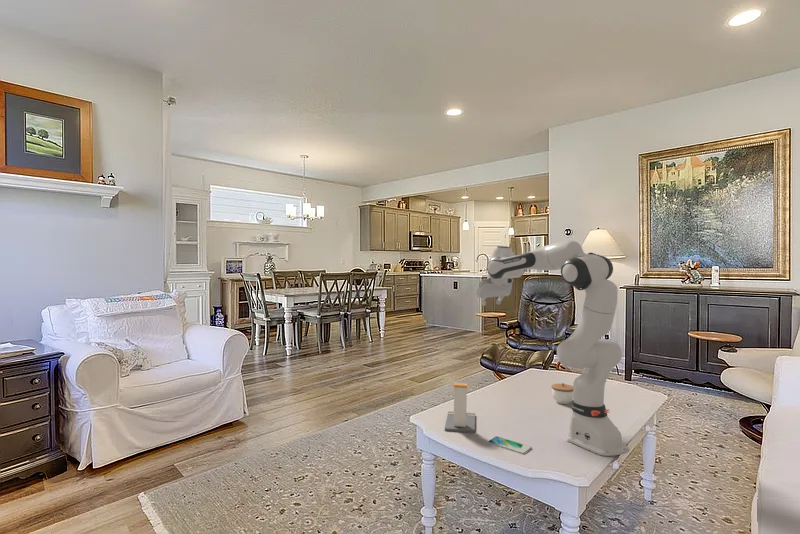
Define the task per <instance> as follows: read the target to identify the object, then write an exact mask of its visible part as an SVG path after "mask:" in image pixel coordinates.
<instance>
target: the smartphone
mask: <svg viewBox="0 0 800 534" xmlns="http://www.w3.org/2000/svg"><path fill="white" fill-rule="evenodd" d="M487 443H488V444H489V445H492V446H494V447H495V446H496V447H499V448H502V449H505V450H507V451H511V452H515V453H517V454H520V455H526V454H527V453H528V452H530V451H531V450H532V449H533V447H532V446H530V445H527V444H524V443H523V444H522V443H520V442H517V441H514V440H510V439H507V438H504V437H501V436H498V435H497V436H496V435H495V437H493V438H491V439H489V440H488V441H487Z"/></svg>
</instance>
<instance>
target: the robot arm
mask: <svg viewBox="0 0 800 534" xmlns="http://www.w3.org/2000/svg"><path fill="white" fill-rule="evenodd" d="M486 265H487V266H486V271H487V278H482V279H480V280H479V282H478V284H477V288H476V292H475V295H476V297H478V298H480V299H481V306H483V307H485V306H487V303H488V302H487V301H486V300H487V298H497V297H498V298H497V299H496V300H495V304H496V305H501V303H502V301H503V299H504V298H505V297H509V296H510V295H511V292H512V288H513V282H514V279H517V278H521V277H522V276H523V275H524V273H525V271H526V270H533V271H534V270H536V271H557V270H560V274H561V278H562V280H563V281H564V282H565V284H568V285H569V286H571V287H574V288H575V289H576V290H578V291H584V292H585V298H584V302H583V305H582V306H583V307H582V312H581V316H580V317H579V318H580V319H579V322H578V324H577V326H576V328H575V329H574V331H573V332H572V333H571V334H570V335H569V336H568V337H567V338H566V339H564V340H563V341H561V342H560V343H559V344H558V346H557V349H556V357H557V359H558V362H559V363H560V364H561V365H562V366H563V367H566V368H573V369H584V370H583V371H582V373H581V374H580V375H578V376H577V377H576V378H575V379H574V381H573V383H572V384H573V385H572V386H573V400H572V401H571V404H570V405H571V411H572V412H571V413H572V414H571V418H570V424H569V431H568V433H567V437H566V441H567V442H569V443H571V444H573V445H576V446H578V447H580V448H583V449H585V450H587V451H589V450H590V452H592V453H594V454H596V453H597V454H596V455H599V456H604V457H605V456H606V457H613V456H620V455H625V454H627V453H629V452H630V447H628V446H627V445H626V444H625V443H623V437H622V433H621V431H620V430H619V428H618V427H617V426H616V425H615V424H614V422H612V420H611V419H610V417H608V413H610V409H607V408H606V405H605V403H604V402H605V401H604V400H605V386H606V383H607V379H608V378H609V375H610V373H611V371H613V369H614V368H615V367H616V366H617V365H618V364H619V363H620V362H621V361H622V357H623V350H622V348H621V346H620V344H618V342H616V341H615V340H612V339H606V338H602V337H604V336H605V335H607V334H609V332H610V331H611V330H612V327H613V322H614V319H615V314H616V309H617V304H618V294H619V293H618V291H619V290H618V287H617V285H616V283H614V282H613V281H612V280H610V279H609V278H610V277H611V276H613V275H612V274H613V272H614V265H613V263H612V261H611V260H610V259H609V258H608V257H606V256H604V255H600V254H596V253H594V252H590V251H589V252H588V253H585V251H584V249H583V247H582V245H581V244H580V243H579V242H577V241H575V240H562V241H557V242H552V243H550V244H547V245H544V246H541V247H537V248H536V249H533V250H531V251H527V252H525V253H524V252H523V253H521V254H517V255H516V254H515V253H514V252H513V249H512V247H509V246H504V245H498V246H495V248H494V249H493V251H492V254H491V258H490V259H489V261H488V263H487V264H486Z"/></svg>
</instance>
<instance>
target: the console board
mask: <svg viewBox="0 0 800 534" xmlns="http://www.w3.org/2000/svg"><path fill="white" fill-rule="evenodd" d="M475 426H476V413H475V412H466V427H459V426H454V411H450V410H449V411H447V416H446V420H445V426H444V431H445V430H450V431H449V432H455V431H458V432H459V433H467V432H468V433H470V434H475V433H476V431H475V429H476V427H475ZM458 432H457V433H458Z"/></svg>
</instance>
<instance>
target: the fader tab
mask: <svg viewBox="0 0 800 534" xmlns="http://www.w3.org/2000/svg"><path fill="white" fill-rule="evenodd" d="M453 388H454V389H453V392H454V393H453V412H454V426H459V427H466V413H467V402H468V401H467V400H468V399H467V397H468V396H467V393H468V391H467V389H468V383H464V382H454V383H453Z"/></svg>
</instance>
